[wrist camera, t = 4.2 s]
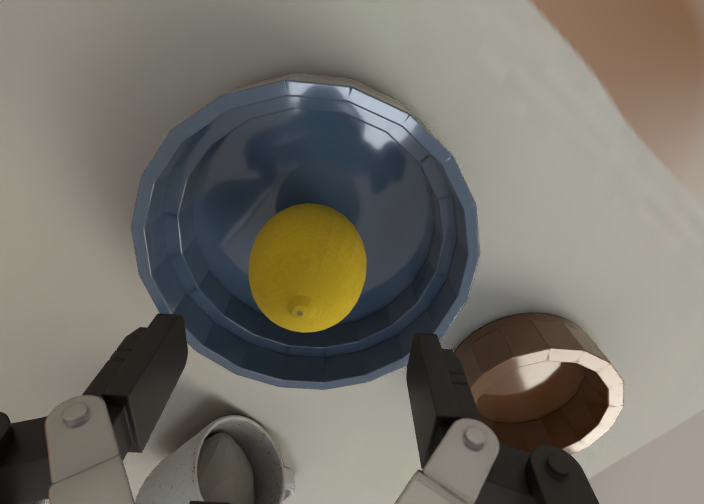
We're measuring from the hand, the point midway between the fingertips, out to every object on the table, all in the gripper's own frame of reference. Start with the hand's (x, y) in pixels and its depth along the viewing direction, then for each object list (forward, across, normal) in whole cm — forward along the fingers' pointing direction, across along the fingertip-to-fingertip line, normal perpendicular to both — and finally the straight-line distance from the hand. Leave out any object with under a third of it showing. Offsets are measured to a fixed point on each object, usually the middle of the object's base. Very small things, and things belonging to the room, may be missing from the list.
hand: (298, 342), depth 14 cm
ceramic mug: (+10, +5, +20) cm, 23 cm away
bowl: (+10, 0, 0) cm, 10 cm away
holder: (+10, -15, +10) cm, 21 cm away
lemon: (+10, 0, 0) cm, 10 cm away
